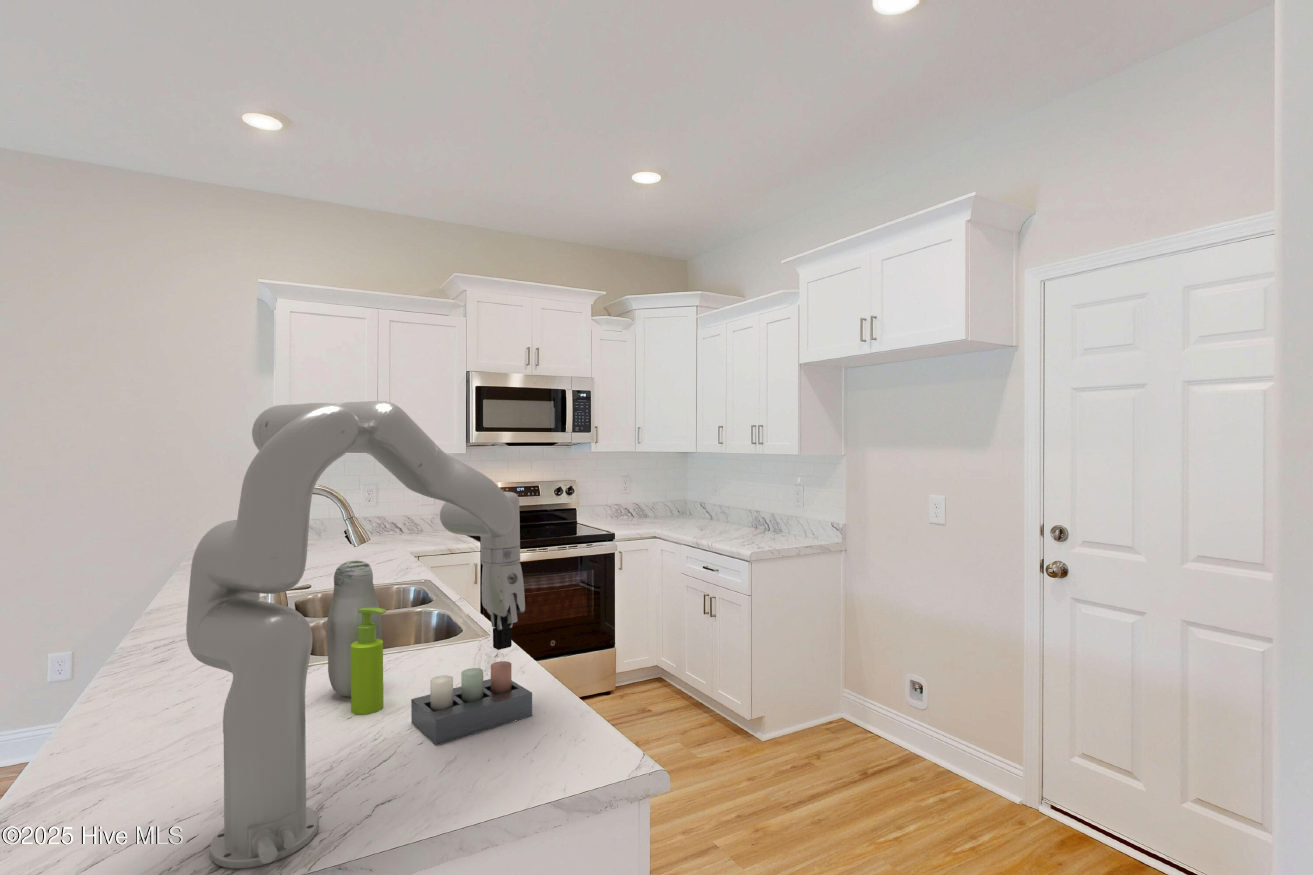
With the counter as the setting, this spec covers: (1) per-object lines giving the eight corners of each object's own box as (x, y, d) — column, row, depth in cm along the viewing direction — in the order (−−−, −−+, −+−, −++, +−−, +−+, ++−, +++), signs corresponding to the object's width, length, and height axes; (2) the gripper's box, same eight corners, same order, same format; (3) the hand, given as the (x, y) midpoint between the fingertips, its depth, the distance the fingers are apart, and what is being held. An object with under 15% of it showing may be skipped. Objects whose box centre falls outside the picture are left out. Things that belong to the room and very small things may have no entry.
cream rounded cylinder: (456, 706, 123) (456, 679, 123) (435, 712, 121) (435, 684, 121) (448, 700, 126) (447, 673, 126) (427, 705, 124) (426, 678, 124)
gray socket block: (532, 715, 129) (532, 692, 129) (435, 745, 117) (435, 719, 117) (503, 697, 138) (503, 675, 138) (411, 722, 126) (411, 699, 126)
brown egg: (515, 690, 131) (515, 665, 131) (496, 695, 128) (496, 669, 128) (505, 684, 134) (505, 659, 134) (487, 689, 132) (487, 664, 132)
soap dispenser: (376, 716, 129) (375, 613, 129) (344, 713, 130) (343, 611, 130) (394, 704, 135) (393, 605, 135) (363, 701, 136) (362, 603, 136)
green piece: (486, 698, 127) (486, 672, 127) (466, 703, 125) (466, 677, 125) (477, 692, 130) (477, 666, 130) (458, 697, 128) (457, 671, 128)
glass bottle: (352, 682, 147) (351, 555, 146) (391, 688, 143) (390, 558, 143) (317, 700, 137) (316, 564, 137) (357, 705, 134) (356, 566, 134)
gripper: (536, 557, 128) (538, 652, 128) (500, 547, 139) (502, 634, 140) (500, 563, 123) (502, 662, 123) (466, 552, 135) (468, 642, 135)
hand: (502, 647), depth 132 cm, fingers closed
